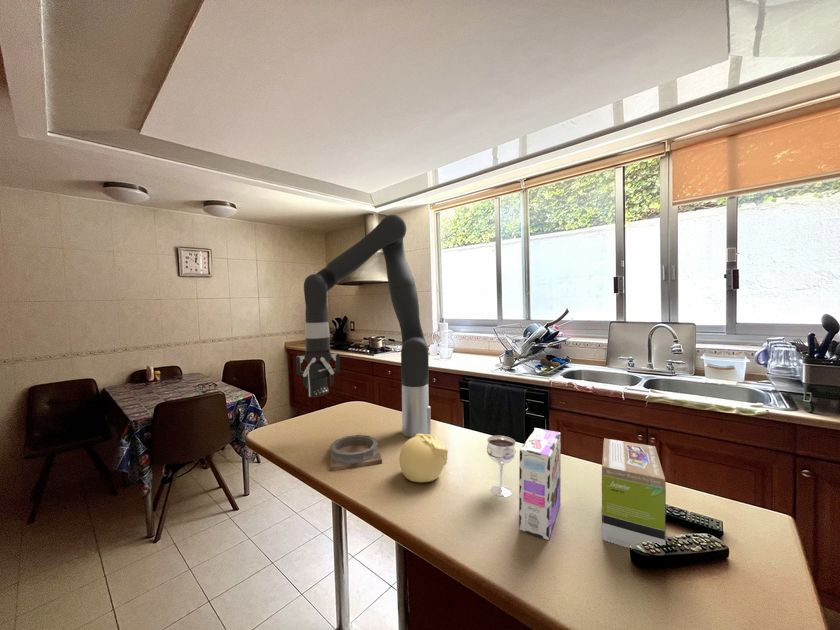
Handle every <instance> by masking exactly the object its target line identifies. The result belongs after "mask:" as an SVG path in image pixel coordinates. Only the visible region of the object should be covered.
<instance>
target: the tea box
mask: <svg viewBox="0 0 840 630" xmlns="http://www.w3.org/2000/svg"><path fill="white" fill-rule="evenodd" d="M602 446H603V447H602V462H601V536H602V537H601V538H602V541H604V542H607V541H608V542H607V543H610V542H611V544H613V543H614V544H613V545H616V544H618V545H617V546H619V545H620V547H623V546H624V547H623V548H626V547H628V548H627V549H629V548H630V546H631V545H632V544H635V543H640V542H647V541H652V542H654V543H657V544H661V545H666V540H667V539H666V530H667V529H666V527H667V526H666V523H667V522H666V521H667V519H666V517H667V516H666V513H667V512H666V508H667V507H666V503H667V502H666V497H667V495H666V493H667V492H666V491H667V487H666V477H665V473H664V471H663V467H662V465H661V460H660V457H659V454H658V451H657V447H656V446H655V445H650V444H643V443H635V442H629V441H622V440H618V439H610V438H606V437H604V438H603V445H602ZM666 546H667V545H666Z"/></svg>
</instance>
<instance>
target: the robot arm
mask: <svg viewBox="0 0 840 630" xmlns="http://www.w3.org/2000/svg"><path fill="white" fill-rule="evenodd" d="M406 233H407V224H406V221H405V219H404V218H403V217H401V216H400V215H397V214H388V215H386V216H385V217H383V218H382V219H381V221H379V223H378V224H377V225H376V226H375V227H374V228H373V229H372V230H371V231H370V232H369V233H368V234H366V235H365V236H364V237H363V238H362V239H360V240H359V241H357V242H356V243H355V244H353V245H351V246H350V247H349V248H347V249H346V250H345V251H343V252H341V253H340V254H339V255H337V256H336V257H335V258H334V259H332V260H330V261H329V262H328V263H327V264H326V265H325V266H324V268H323V269H320V270H319V271H318V272H317V273H312V274H309V275H308V276H307V277H306V278H305V279H304V282H303V294H304V295H303V296H304V304H305V328H304V330H305V331H304V338H305V354H304V355H297V356H295V368H296V371H295V372H296V375H297V376H301V377H302V383H303V387H305V389H308V377H307V374H308V370H309V368H310V365H311V364H312V363H315V362H322V363H323V365H324V366H325V367H326V368H327V370H328V371H329V372H330V375H329V387H331V386H332V387H333V385H335V375H336V374H337V373H340V371H341V370H340V369H341V365H340V364H341V355H340V353H338V352H336V353H332V352H331V345H330V343H331V341H330V335H331V333H330V325H329V311H328V305H327V303H328V292H329V291H330V290H331V289H332V288H333V287H334V286H336V285H337V284H339V282H341V281H343V280H344V279H346V278H347V277H349V276H350V275H352V273H354V272H355V271H357V270H358V269H359V268H360V267H361V266H362V265H363V264H365V263H366V262H367V261H368V260H370V258H371V257H373V256H374V255H375V254H376V253H378V252H379V251H380V250H382V253H383V257H384V261H385V265H386V269H385V270H386V277H387V283H388V289H389V295H390V299H391V303H392V307H393V311H394V313H395V315H396V319H397V321H398V323H399V328H400V334H401V335H400V336H401V345H402V346H401V351H400V367H401V368H400V370H401V372H400V374H401V409H402V410H401V412H402V413H401V414H402V416H401V423H402V425H401V428H402V435H403V436H405V437H407V438H410V439H411V438H413V437H415V435H416V434H431V435H432V433H431V431H432V428H431V425H432V424H431V409H432V407H431V406H430V405H429V396H430V394H429V376H430V375H429V374H430V373H429V365H430V364H429V363H430V361H429V347H428V344H427V341H426V338H425V336H424V333H423V329H422V325H421V319H420V306H419V297H418V291H417V286H416V281H415V278H414V276H413V273H412V270H411V268H410V266H409V264H408V261H407V258H406V253H405V246H404V238H405V236H406ZM331 359H333V361H335V368H334V369H333V368H332V366H331V365H330V360H331ZM303 360H305V362H306V363H307V366H308V367H307V366H306V368H305V369H304V371H303V370H302V367H301V364H302V363H303V362H304V361H303ZM328 362H329V364H328ZM308 364H309V365H308Z"/></svg>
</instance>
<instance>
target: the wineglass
mask: <svg viewBox="0 0 840 630" xmlns="http://www.w3.org/2000/svg"><path fill="white" fill-rule="evenodd" d="M486 441H487V443H488V444H487V445H486V452H487V455H488V457H489V458H490V459H491V460H492V461H493V462H495V463H496V464H498V465H499V484H494V485H492V486H491V487H490V491H491V493H493V495H495V496H499V497H508V496H510V495H512V492H513V491H512V489H511V488H510V487H509V486H507V485H504V484H503V473H504V472H503V468H504V465H506V464H509V463H510V462H511V461H512V460H514V459H515V456H516V453H517V450H516V447H515V445H516V440H515V439H513V438H512V437H509V436H505V435H491V436H490V437H488V438H487V439H486Z"/></svg>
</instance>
